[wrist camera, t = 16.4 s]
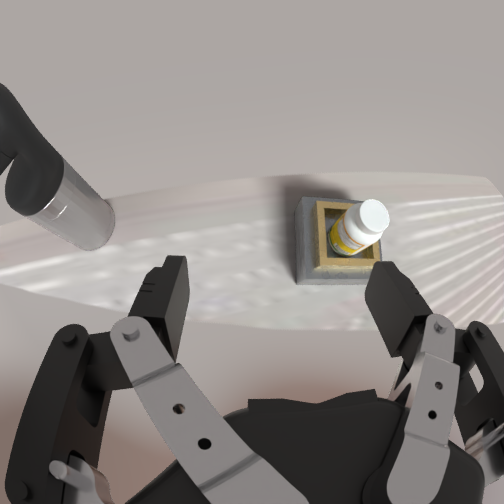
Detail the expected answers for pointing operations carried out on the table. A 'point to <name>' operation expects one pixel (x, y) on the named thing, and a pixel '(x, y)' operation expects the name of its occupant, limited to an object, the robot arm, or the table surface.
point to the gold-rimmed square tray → (328, 246)
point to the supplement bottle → (358, 227)
